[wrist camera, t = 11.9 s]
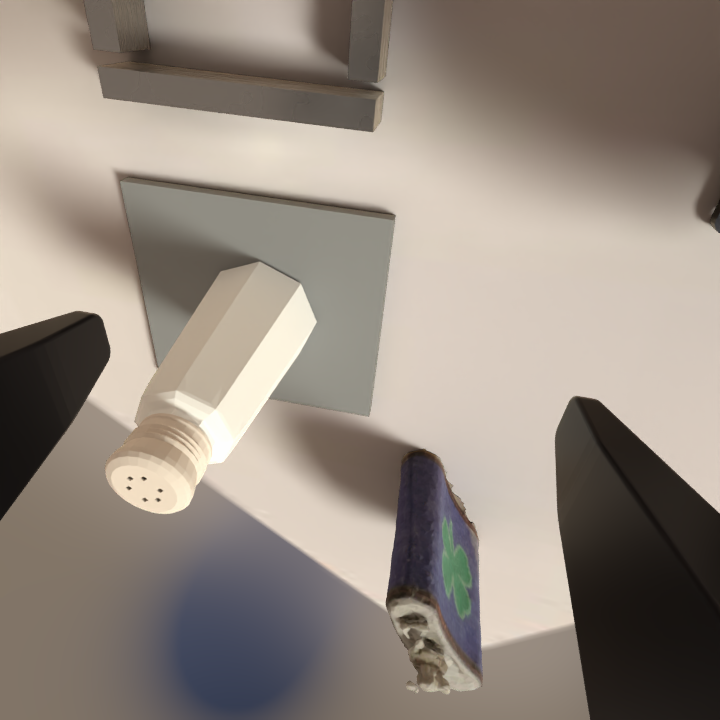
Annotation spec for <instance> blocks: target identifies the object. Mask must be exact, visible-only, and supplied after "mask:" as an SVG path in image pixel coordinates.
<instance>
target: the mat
mask: <svg viewBox="0 0 720 720" xmlns="http://www.w3.org/2000/svg"><path fill="white" fill-rule="evenodd" d="M120 185H121V189H122V194H123V199H124V204H125V209H126V214H127V218H128V223H129V228H130V233H131V238H132V243H133V248H134V252H135V257H136V262H137V267H138V272H139V277H140V281H141V286H142V291H143V296H144V301H145V306H146V311H147V315H148V320H149V325H150V330H151V335H152V340H153V344H154V349H155V354H156V359H157V364H158V368H159V366H160V365H161V363H162V362H163V360H164V359H165V357H166V355H167V354H168V352H169V351H170V349H171V348H172V346H173V345H174V343H175V341H176V340H177V338H178V337H179V335H180V334H181V332H182V331H183V329H184V328H185V326H186V324H187V323H188V321H189V320H190V318H191V317H192V315H193V314H194V312H195V310H196V309H197V307H198V306H199V304H200V303H201V301H202V300H203V298H204V296H205V295H206V293H207V292H208V290H209V289H210V287H211V286H212V284H213V282H214V281H215V279H216V278H217V276H218V275H219V273H220V272H221V271H224V270H228V269H232V268H236V267H240V266H244V265H248V264H252V263H256V262H262V263H263V264H265V265H267V266H269V267H271V268H273V269H275V270H276V271H278V272H280V273H282V274H284V275H286V276H288V277H289V278H291V279H293V280H295V281H297V282H299V283H301V285H302V287H303V290H304V292H305V295H306V297H307V300H308V302H309V304H310V307H311V309H312V312H313V314H314V316H315V319H316V321H317V323H316V324H315V326H314V328H313V330H312V332H311V334H310V335H309V337H308V339H307V341H306V343H305V344H304V346H303V348H302V350H301V352H300V353H299V355H298V356H297V358H296V359H295V360H294V362H293V363H292V365H291V366H290V368H289V369H288V371H287V372H286V373H285V375H284V376H283V378H282V379H281V381H280V382H279V384H278V385H277V386H276V388H275V389H274V391H273V392H272V394H271V395H270V397H269V399H274V400H280V401H285V402H291V403H296V404H302V405H307V406H313V407H318V408H324V409H329V410H335V411H340V412H346V413H351V414H357V415H362V416H368V417H369V415H370V411H371V404H372V396H373V388H374V380H375V372H376V365H377V357H378V349H379V341H380V333H381V326H382V318H383V310H384V302H385V294H386V286H387V279H388V271H389V263H390V255H391V247H392V239H393V232H394V224H395V216H396V215H389V214H382V213H375V212H368V211H361V210H354V209H347V208H340V207H333V206H326V205H319V204H312V203H305V202H298V201H291V200H284V199H277V198H270V197H263V196H256V195H249V194H242V193H235V192H228V191H221V190H214V189H207V188H200V187H193V186H186V185H179V184H172V183H165V182H158V181H151V180H144V179H136V178H129V177H127V178H125V179H123V180H121V181H120Z"/></svg>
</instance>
